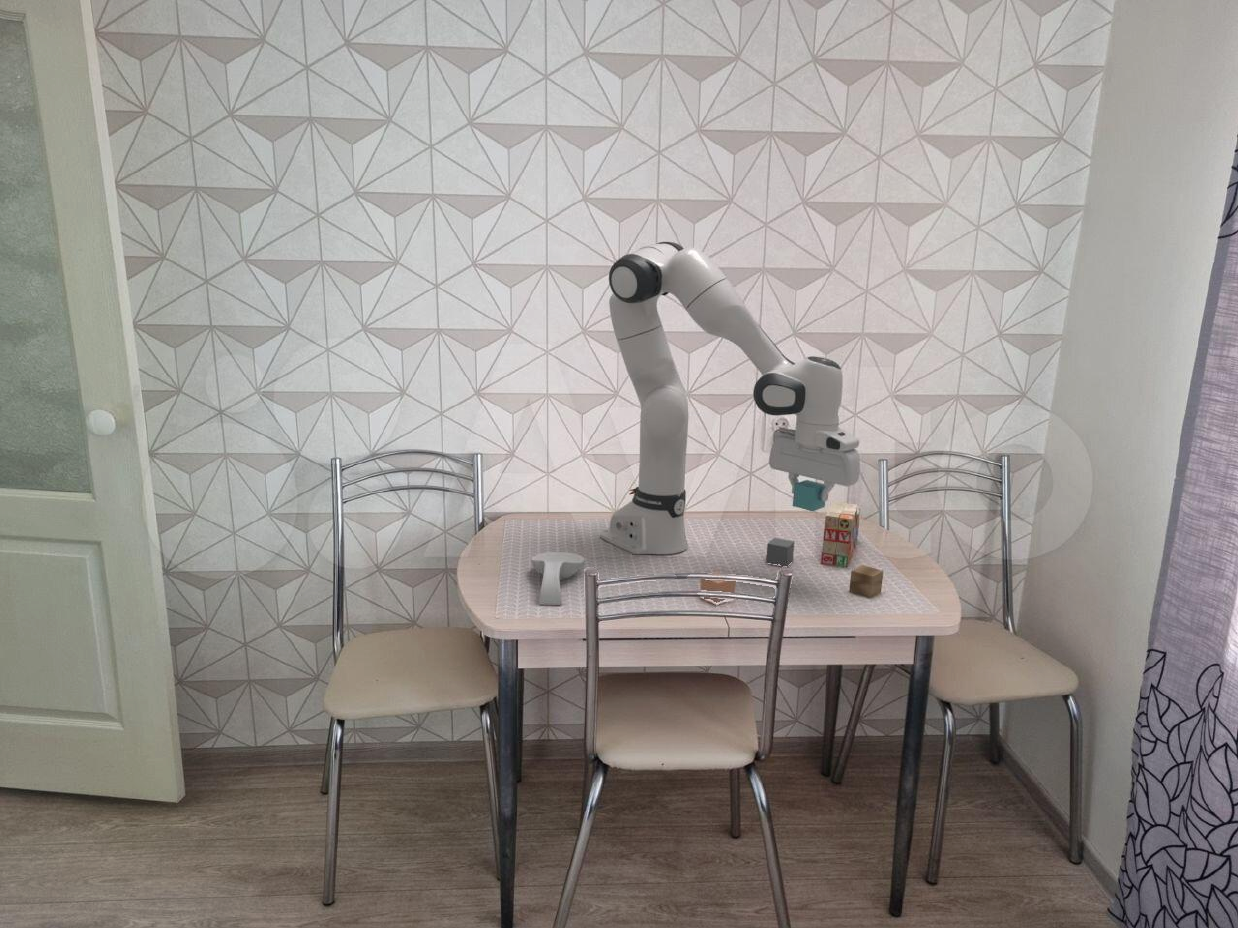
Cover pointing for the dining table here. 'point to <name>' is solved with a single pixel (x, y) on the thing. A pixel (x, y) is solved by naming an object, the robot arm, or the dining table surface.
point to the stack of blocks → (840, 534)
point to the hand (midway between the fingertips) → (809, 497)
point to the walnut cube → (866, 581)
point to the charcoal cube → (780, 552)
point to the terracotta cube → (717, 586)
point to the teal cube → (808, 495)
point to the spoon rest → (555, 573)
